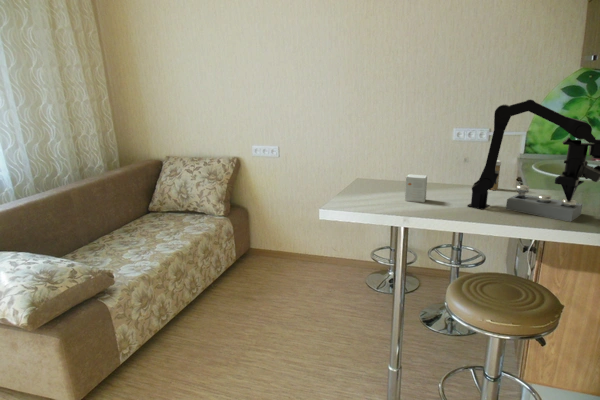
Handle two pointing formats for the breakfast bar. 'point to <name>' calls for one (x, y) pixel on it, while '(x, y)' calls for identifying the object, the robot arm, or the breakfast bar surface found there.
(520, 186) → the knob left
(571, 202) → the knob right
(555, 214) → the mount
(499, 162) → the sprinkles bottle
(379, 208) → the breakfast bar surface
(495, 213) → the breakfast bar surface
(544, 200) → the knob middle
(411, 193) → the small box
